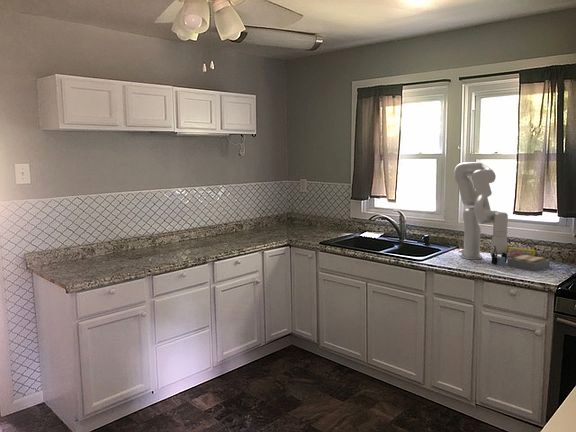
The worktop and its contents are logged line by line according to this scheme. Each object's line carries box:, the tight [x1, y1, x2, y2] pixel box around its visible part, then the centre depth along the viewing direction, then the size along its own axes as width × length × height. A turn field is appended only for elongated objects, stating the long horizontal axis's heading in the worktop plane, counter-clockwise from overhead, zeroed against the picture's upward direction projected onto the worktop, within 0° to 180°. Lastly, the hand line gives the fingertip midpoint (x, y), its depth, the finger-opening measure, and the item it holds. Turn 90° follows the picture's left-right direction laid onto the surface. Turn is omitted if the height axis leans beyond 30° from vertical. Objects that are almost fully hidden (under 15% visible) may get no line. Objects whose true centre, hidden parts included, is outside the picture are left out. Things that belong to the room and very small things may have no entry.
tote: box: [507, 258, 551, 272], centre depth 281 cm, size 16×16×5 cm
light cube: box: [495, 255, 506, 266], centre depth 288 cm, size 5×5×5 cm
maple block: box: [513, 255, 546, 263], centre depth 280 cm, size 12×12×5 cm
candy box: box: [507, 246, 536, 260], centre depth 297 cm, size 16×2×8 cm, turn 47°
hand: (499, 262), depth 288 cm, fingers open, 9 cm apart
